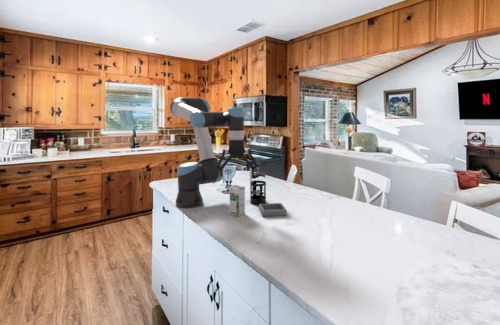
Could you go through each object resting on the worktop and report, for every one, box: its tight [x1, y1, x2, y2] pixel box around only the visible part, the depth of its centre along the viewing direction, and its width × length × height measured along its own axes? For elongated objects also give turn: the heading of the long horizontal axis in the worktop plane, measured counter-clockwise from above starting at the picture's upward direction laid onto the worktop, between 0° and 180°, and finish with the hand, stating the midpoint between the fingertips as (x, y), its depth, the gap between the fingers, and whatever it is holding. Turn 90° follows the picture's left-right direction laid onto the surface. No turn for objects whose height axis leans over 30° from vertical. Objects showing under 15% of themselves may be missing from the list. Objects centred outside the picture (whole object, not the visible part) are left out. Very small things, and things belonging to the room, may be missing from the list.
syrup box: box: [229, 184, 246, 217], centre depth 144 cm, size 6×6×14 cm
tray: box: [258, 202, 288, 218], centre depth 147 cm, size 12×12×3 cm
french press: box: [249, 162, 267, 206], centre depth 163 cm, size 12×9×23 cm
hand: (237, 182), depth 142 cm, fingers open, 13 cm apart
